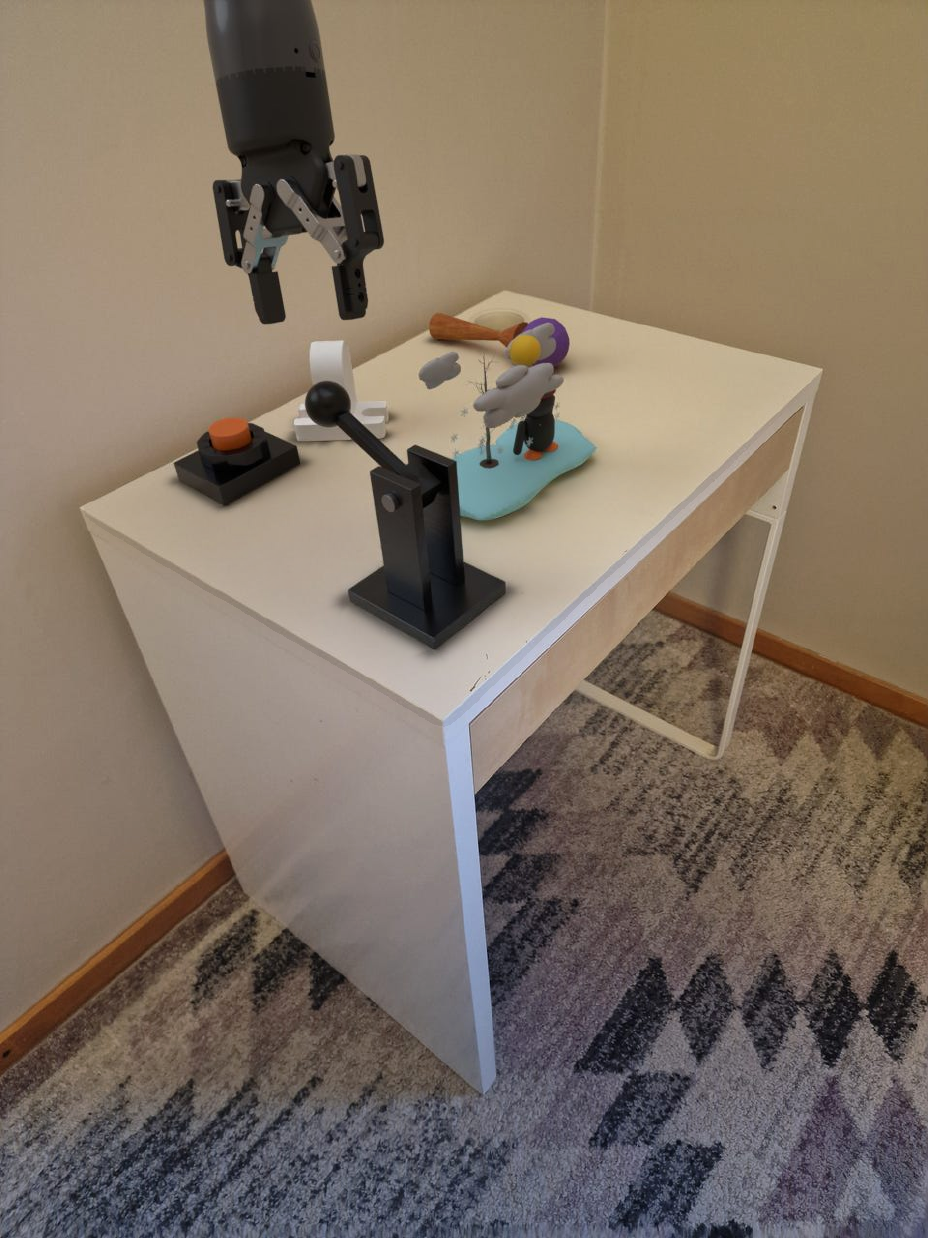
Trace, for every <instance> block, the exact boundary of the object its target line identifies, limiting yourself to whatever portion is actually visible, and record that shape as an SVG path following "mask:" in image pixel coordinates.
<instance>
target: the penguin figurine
mask: <svg viewBox="0 0 928 1238" xmlns="http://www.w3.org/2000/svg"><path fill="white" fill-rule="evenodd" d="M554 330H555V328H554V326H553V324H551V323H545V324H542V325H540V326H537V327H535V328H533V329H532V330H531V329H530V330H527V331H525V332H523V333H521V334H520V335H518V336H517V337H516V338H514V339H513V340H512V341H511V342H510V343H509V345H508V347H507V348H506V349H505V356H506V359H508V360H510V361H511V362H512V365H513V366H512V367H510V368H508V369H507V370H506V371H504V372H503V373H502V374H500V376H498V377H497V379H496V380H495V387H493V385H491V387H490V388H489V389H488V381H487V380H488V379H487V371H490V370H491V368H489V367H490V365H491V363H493V359H494V357H495V355H493V357H492V359H491V361H489V362H487V366H486V362H485V361H486V359H485V353H483V362H481V360H479V363H482V364H483V373H484V374H483V376H484V383H478V381H477V379H475V380H476V382H475V386H476V388H477V391H480V394H481V395H479V396H478V397H477V398H476V399H475V400H474V402H473V403H472V407H473V409H474V410H475V412H480V413H481V412H485V413H484V414H483V417H482V419H483V428H482V427H481V429H483V430H484V428H485V433H484V435H485V436H484V437H481V438H480V439H479V440H478V441H479V443H478V446H477V447H473V448H471V449H468V450H466V451H463V452H461V453H459V451H460V449H457V448H455V449H454V450H455V451H454V452H453V455H452V458H451V459H452V460H455V461H456V462H457V474H458V488H459V503H460V517H464V518H468V519H472V520H477V521H491V520H494V519H498V518H502V517H503V516H507V515H509V514H512V513H513V512H516V511H518V510H520V509H521V508H523V507H524V506H525V505H527V504H528V503H529V502H531V501H532V500H533V499H534V498H535V497H536V496H537V495H538V494H539V493H540V492H541V491H542V490H544V488H545V487H546V486H548V484H550V483H551V482H552V481H553V480H554V479H556V478H557V477H559V476H561V475H562V474H564V473H566V472H569V471H572V470H573V469H576V468H577V467H580V466H581V465H582V464H584V463H586V462H587V460H588V459H589V458H590V457H591V456H592V455H593V454H594V453H595V452H596V450H597V446H596V445H595V444H594V443H593V442H591V441H590V440H589V439H588V438H587V437H585V435H583V432H581V430H580V429H578V427H577V426H574V425H573V424H571V423H569V422H566V421H563V420H560V419H558V418H560V417H561V416H560V412H558V411H557V410H558V409H557V408H560V403H561V402H558V401H557V402H556V396H555V395H554V394H555V393H556V391H557V389H559V388H560V387H561V386H562V385H563V384H564V381H565V379H564V377H563V376H561V375H558V374H555V375H554V372H555V371H554V368H555V367H553V365H552V364H551V363H541V364H537V365H535V366H531V365H533V364H534V363H535V362H536V361H537V360H542V359H544V358H546V357H548V356H550V355H551V354H552V353H553V352H554V351H555V348H556V341H555V339H554V338H552V337H550V336H551V335H552V334H553V333H554ZM459 358H460V356H459V354H458V353H457V352H456V351H451V352H447V353H445V354H443V355H441V356H438V357H436V358H433V359H430V360H429V361H427V362H426V363H425V364H424V365H423V366H421V368H420V370H419V371H418V378H419V381H422V382H423V383H424V385H425V387H426V389H427V390H433V389H435V388H438V387H440V386H442V384H443V383H445V382H447V381H451V380H453V379H455V378H456V377H458V376H459V375H460V374H461V372H462V367H461V364H460V363H458V362H457V361H458V360H459ZM497 363H499V361H496V364H497ZM467 382H469V383H470V384H474V382H473V381H468V380H467ZM469 383H468V384H465V385H469ZM478 385H479V386H480V388H479V386H478ZM483 385H484V386H483ZM483 387H484V389H483ZM555 402H556V404H555ZM468 409H469V408H468V407H465V406H463V409H462V410H460V413H461V414H460V417H462V416H466V414H468ZM554 410H555V411H556V414H555V415H554V414H553V411H554ZM518 418H520V419H519V422H517V419H518ZM509 422H511V423H510V425H509V426H508V428H507V429H506V430H505V431H503V432H502V433H501V434H500V435H499V436H498V437H497V438H496V440H495V444H491V433H493V431H494V429H496V428H498V427H499V428H500V427H501V426H503V425H505V424H506V423H509ZM491 429H492V430H491ZM452 435H453V436H450V439H451V442H453V444H454V443H455V441H456V440H458V433H456V434H455V433H454V432H453V434H452Z"/></svg>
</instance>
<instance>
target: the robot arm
mask: <svg viewBox="0 0 928 1238" xmlns="http://www.w3.org/2000/svg"><path fill="white" fill-rule="evenodd" d="M203 7H204V16H205V17H204V18H205V32H206V40H207V41H206V42H207V47H208V51H209V58H210V63H211V67H212V73H213V78H214V83H215V88H216V92H217V98H218V104H219V108H220V109H219V110H220V114H221V119H222V124H223V129H224V134H225V139H226V144H227V148H228V150H229V152H230V153H231V154H232V155H233V156H235V157H237V158H238V160H239V162H240V166H241V175H240V179H215V180H214V181H213V183H212V193H213V199H214V204H215V211H216V217H217V223H218V229H219V235H220V241H221V246H222V252H223V259H224V262H225V263H226V265H227V266H229V267H237V268H240V269H242V270H243V272H244V273H245V274H247V276H248V280H249V286H250V291H251V295H252V301H253V306H254V310H255V313H256V315H257V317H258V319H259V322H260V324H262V325H273V324H279V323H284V322H285V320H286V319H287V314H286V309H285V305H284V297H283V292H282V287H281V282H280V276H279V271H278V270H275V268H276V265H277V263H278V259H279V255H280V251H281V248H282V247H283V246H285V245H286V244H287V243H288V239H289V236H294V235H295V236H296V235H300V234H305V233H308V235H309V236H310V237H311V238H312V239H313V240H314V241H316V242H319V243H320V244H321V246H322V247H323V248H324V250H325V251H326V253H327V254H328V255H329V257H330V258H331V259H332V261H333V263H335V264H336V265H332V266H331V272H332V273H331V274H332V279H333V286H334V291H335V297H336V304H337V310H338V317H339V318H340V319H341V320H342V321H353V320H358V319H363V318H364V317H366V314H367V309H368V306H369V297H368V293H367V292H368V291H367V287H366V286H367V283H366V276H365V270H364V269H365V268H364V261H365V259H366V257H367V256H368V255H369V254H371V253H372V252H374V251H375V250H381V249H382V248H383V247H384V244H385V238H384V232H383V226H382V222H381V221H382V220H381V214H380V209H379V202H378V198H377V193H376V186H375V180H374V175H373V171H372V164H371V161H370V158H369V157H368V156H367V155H365V154H338V155H336V156H335V157H334V159H333V156H332V154H331V150H330V147H331V146H332V145H333V144H334V142H335V138H336V135H335V134H336V133H335V128H334V121H333V115H332V109H331V101H330V93H329V88H328V82H327V81H328V80H327V75H326V67H325V62H324V55H323V48H322V41H321V35H320V29H319V25H318V20H317V16H316V13H315V9H314V6H313V1H312V0H203ZM336 190H337V192H338V197H339V201H340V202H339V201H338V200H337V198H336V197H335V194H336V193H335V192H336ZM237 231H238V233H239V236H240V237H239V238H240V243H241V247H240V248H239V247H238V242H237V241H238V240H237V235H236V234H237ZM274 270H275V271H274Z"/></svg>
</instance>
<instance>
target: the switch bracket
mask: <svg viewBox="0 0 928 1238" xmlns="http://www.w3.org/2000/svg"><path fill="white" fill-rule="evenodd" d="M406 455H407V456H406V457H407V464H408V463H410V462H412V461H413V460H415V459H417V460H418V461H419V462H420V463H421V464H422V465H423V466H424V467H426V468H427V469H428V470H429V471H430V472H431V473H432V474H433V475H434V476H435V477H436V478H437V479H438V480H440V481H441V484H440V487H439V490H438V492H437V495H436V497H435V500H434V502H433V503H431V504H430V505H428V506H426V507H425V508H423V505H422V495H421V486H420V484H419V483H416V482H414V481H412V480H409V479H407V478H405V477H403V476H400V475H398V474H396V473H394V472H391V471H389V470H387V469H384V468H382V467H381V466H380V465H378V466H376V467H375V468H373V469H371V470H370V471H369V477H370V483H371V490H372V495H373V496H372V497H373V503H374V511H375V518H376V523H377V530H378V536H379V544H380V551H381V558H382V563H383V564H382V566H379V568H377V569H376V570H374V571H373V572H372V573H370V574H369V575H367V576H366V577H364V578H363V579H361V580H359V581H358V582H357V583H355V584H354V585H353V586H351V587H350V588H348V589H347V595H348V600H349V601H350V602H351V603H353V604H355V605H357V606H358V607H360V608H362V609H364V610H365V611H367V612H369V613H370V614H372V615H373V616H376V617H377V618H379V619H381V620H382V621H384V622H386V623H388V624H390V625H391V626H393V627H394V628H397V629H398V630H399V631H402V632H403V633H405V634H407V635H409V636H410V637H412V638H414V639H416V640H417V641H419V642H421V643H423V644H424V645H426V646H428V647H430V648H432V649H433V650H436V649H437V648H438V647H440V646H441V645H442V644H444V643H445V642H446V641H447V640H448V639H449V638H452V636H453V635H454V634H456V633H457V632H459V631H460V630H461V629H462V628H464V627H465V626H466V625H468V624H469V623H470V622H471V621H472V620H473V619H475V618H476V617H477V616H479V615H480V614H481V613H482V612H484V611H485V610H486V609H487V608H488V607H490V606H491V605H493V604H494V603H495V602H496V601H498V600H499V599H500V598H501V597H502V596H503V595H505V594H506V592H507V584H506V583H507V582H506V581H505V580H503V579H501V578H498V577H497V576H495V575H492V574H490V573H488V572H486V571H485V570H482V569H480V568H478V567H476V566H474V565H472V564H470V563H468V562H465V561H464V560H465V559H464V549H463V548H464V547H463V546H464V545H463V531H462V519H461V518H462V516H460V503H459V488H458V474H457V462H456V461H455V460H452V458H449V457H447V456H445V455H443V454H440V453H438V452H435V451H432V450H430V449H428V448H425V447H423V446H420V445H418V444H413V445H412V446H410V447H408V448H407V449H406Z"/></svg>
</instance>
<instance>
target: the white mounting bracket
mask: <svg viewBox="0 0 928 1238" xmlns="http://www.w3.org/2000/svg"><path fill="white" fill-rule="evenodd" d="M350 351H351V350H350V347H349V344H348V341H347V340H346V339H343V340H342V339H341V340H319V341H312V342H311V344H310V347H309V369H310V371H309V372H310V377H311V384H312V386H313V385H315V384H316V383H318V382H321V381H333V382H336V383H338V384H340V385H341V386H342V387H343V388H344V389H345V390H346V391H347V393H348V395H349V397H350V401H351V409H350V413H351V414H352V415H353V416H354V417H355V418H356V419H358V420H359V421H360V422H361V423H362V424H363V425H364V426H365V427H366V428H367V429H368V430H369V431H370V432H371V433H373V434H374V435H375V436H376V437H377V438H378V439H379V440H381V439H383V438H385V437H386V434H387V426H386V424H388V423H389V420H390V417H389V408H388V402H387V401H385V400H367V401H358V398H357V397H358V396H357V392H356V391H357V390H356V385H355V377H354V372H353V364H352V358H351V352H350ZM298 414H299V417H296V418H294V421H293V428H294V432H295V437H296V440H297V442H327V441H353V440H352V439H351V438H350V437H349V436H348V435H347V434H346V433H345V432H344V431H343V430H342V429H340V428H339V427H338V426H336V427H330V428H327V427H322V426H319V425H317V424H316V423H314V422H313V421H312V420H311V419H310V417H309V416H308V414H307V412H306V408H305V402H304V403H301V404H300V405H299V407H298Z"/></svg>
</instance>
